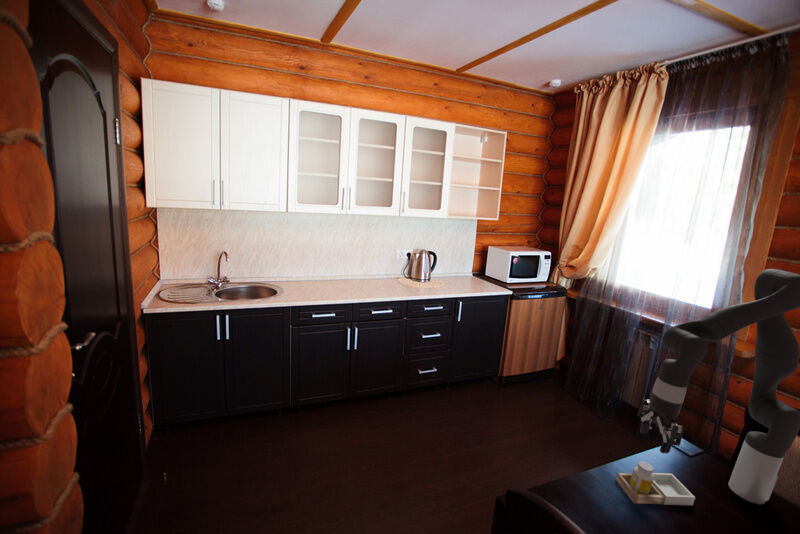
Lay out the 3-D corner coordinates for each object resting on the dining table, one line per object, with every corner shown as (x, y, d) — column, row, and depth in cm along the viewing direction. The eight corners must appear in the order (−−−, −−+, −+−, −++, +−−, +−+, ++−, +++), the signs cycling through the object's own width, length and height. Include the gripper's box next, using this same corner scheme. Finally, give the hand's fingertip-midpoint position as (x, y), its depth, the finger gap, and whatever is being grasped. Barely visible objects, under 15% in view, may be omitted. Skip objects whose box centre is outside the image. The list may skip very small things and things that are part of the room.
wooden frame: (641, 480, 123) (643, 474, 123) (662, 504, 114) (664, 497, 114) (615, 479, 122) (617, 472, 122) (634, 503, 114) (636, 496, 113)
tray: (669, 481, 124) (671, 473, 124) (692, 505, 115) (695, 497, 114) (642, 480, 123) (644, 472, 123) (663, 504, 114) (666, 496, 114)
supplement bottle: (625, 489, 119) (633, 463, 116) (632, 482, 122) (639, 456, 120) (644, 501, 115) (652, 475, 112) (650, 493, 118) (658, 467, 116)
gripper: (700, 410, 104) (683, 460, 108) (661, 382, 118) (648, 427, 121) (674, 409, 103) (658, 459, 107) (639, 381, 117) (626, 426, 121)
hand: (653, 442), depth 114 cm, fingers open, 8 cm apart
